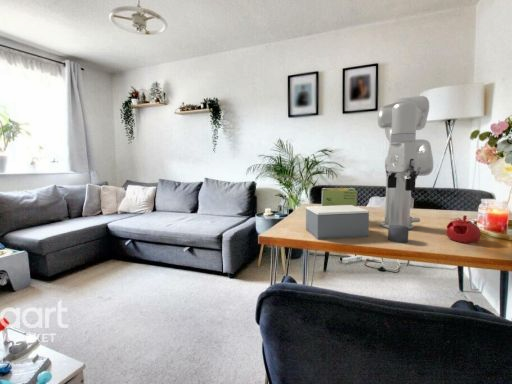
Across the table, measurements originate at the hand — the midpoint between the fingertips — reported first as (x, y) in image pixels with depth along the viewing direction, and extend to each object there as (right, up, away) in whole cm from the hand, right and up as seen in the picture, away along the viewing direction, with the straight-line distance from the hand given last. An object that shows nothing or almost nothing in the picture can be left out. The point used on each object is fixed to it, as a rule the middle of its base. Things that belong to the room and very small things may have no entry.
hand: (400, 189), depth 94 cm
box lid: (-19, -8, +12) cm, 24 cm away
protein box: (-12, -15, +34) cm, 39 cm away
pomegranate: (+23, -19, +1) cm, 29 cm away
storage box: (-19, -18, +13) cm, 29 cm away
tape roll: (0, -19, +3) cm, 19 cm away
